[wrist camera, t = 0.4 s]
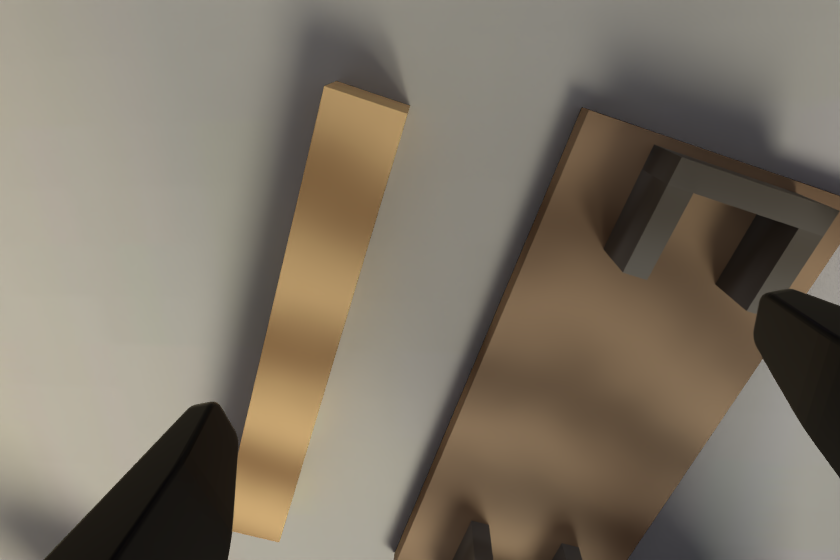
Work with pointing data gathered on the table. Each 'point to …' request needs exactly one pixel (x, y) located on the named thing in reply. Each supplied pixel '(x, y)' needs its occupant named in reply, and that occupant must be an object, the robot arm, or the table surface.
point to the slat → (313, 296)
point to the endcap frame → (614, 346)
